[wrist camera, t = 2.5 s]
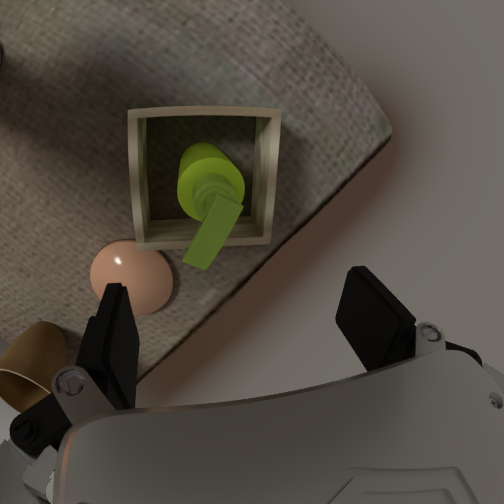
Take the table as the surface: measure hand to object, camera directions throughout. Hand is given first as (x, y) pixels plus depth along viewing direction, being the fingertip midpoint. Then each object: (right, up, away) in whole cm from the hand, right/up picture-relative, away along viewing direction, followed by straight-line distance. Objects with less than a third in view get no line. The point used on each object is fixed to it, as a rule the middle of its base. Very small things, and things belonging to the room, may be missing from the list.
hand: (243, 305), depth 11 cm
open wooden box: (-6, +13, +24) cm, 28 cm away
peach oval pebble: (-18, -2, +29) cm, 34 cm away
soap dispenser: (-6, +13, +24) cm, 28 cm away
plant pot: (-38, -13, +30) cm, 50 cm away
